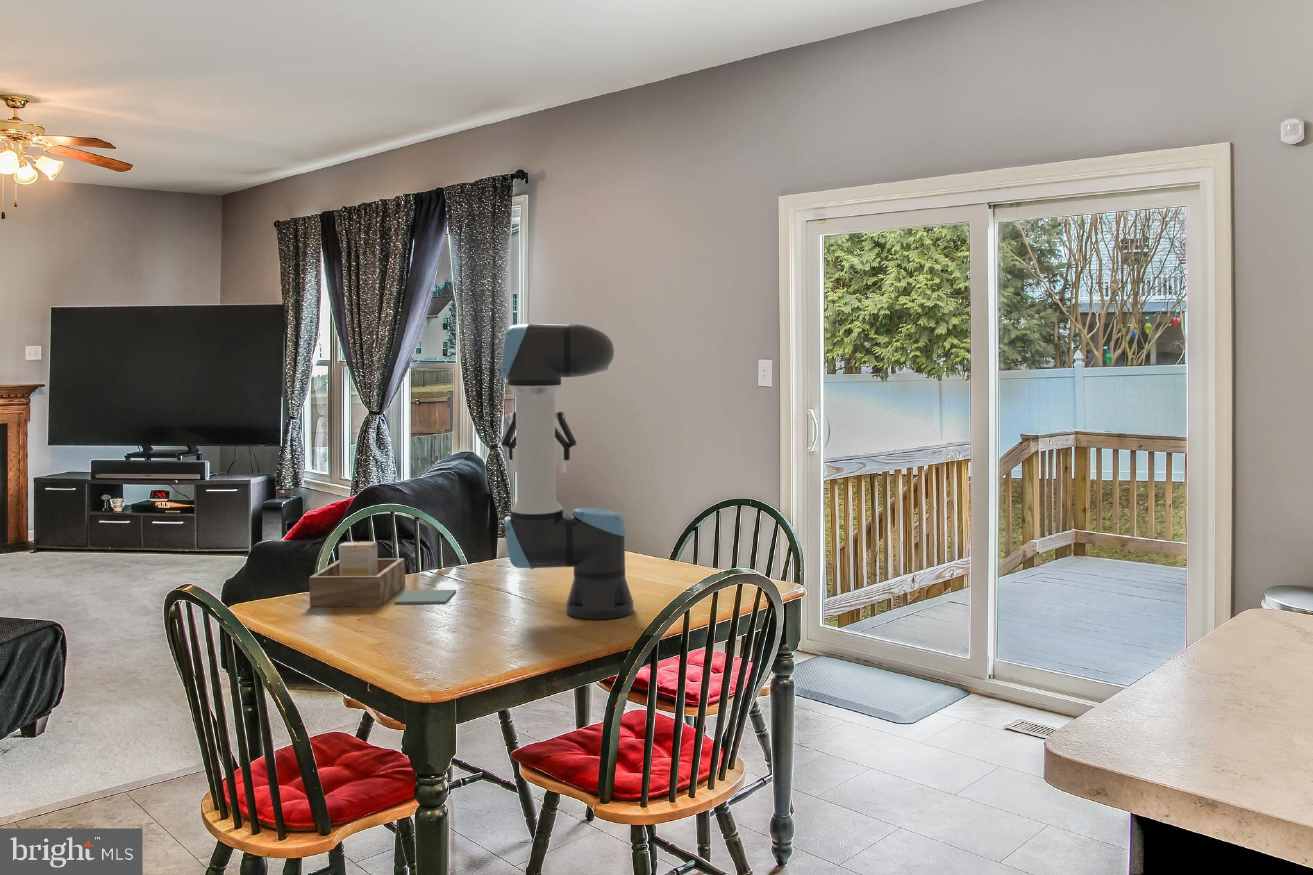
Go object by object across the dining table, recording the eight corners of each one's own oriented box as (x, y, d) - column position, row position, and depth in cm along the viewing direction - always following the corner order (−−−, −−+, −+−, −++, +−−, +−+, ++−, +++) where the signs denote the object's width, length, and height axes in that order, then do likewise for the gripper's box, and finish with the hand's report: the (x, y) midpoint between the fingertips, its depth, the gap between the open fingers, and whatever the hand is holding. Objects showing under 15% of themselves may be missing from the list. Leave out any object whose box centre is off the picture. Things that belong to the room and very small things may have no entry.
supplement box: (379, 593, 239) (378, 541, 238) (372, 598, 234) (370, 544, 234) (347, 593, 240) (346, 541, 239) (339, 597, 235) (337, 544, 234)
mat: (445, 603, 228) (445, 601, 228) (394, 603, 228) (394, 601, 228) (456, 592, 240) (456, 589, 240) (407, 592, 240) (407, 590, 240)
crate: (380, 606, 226) (379, 576, 226) (309, 606, 226) (309, 577, 226) (405, 585, 248) (404, 558, 248) (341, 585, 248) (340, 558, 248)
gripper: (586, 393, 263) (587, 471, 264) (499, 394, 267) (500, 470, 269) (579, 394, 255) (580, 474, 257) (489, 394, 260) (491, 473, 261)
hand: (539, 472), depth 263 cm, fingers open, 13 cm apart
